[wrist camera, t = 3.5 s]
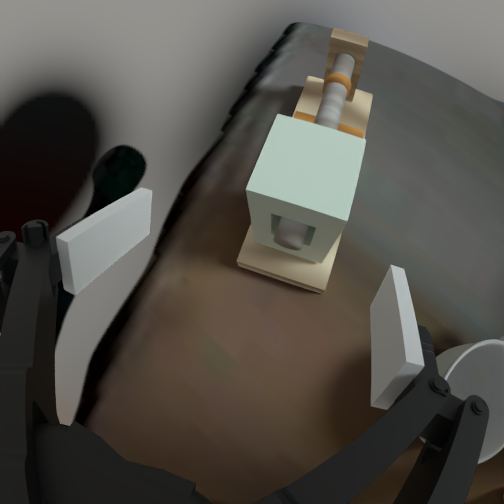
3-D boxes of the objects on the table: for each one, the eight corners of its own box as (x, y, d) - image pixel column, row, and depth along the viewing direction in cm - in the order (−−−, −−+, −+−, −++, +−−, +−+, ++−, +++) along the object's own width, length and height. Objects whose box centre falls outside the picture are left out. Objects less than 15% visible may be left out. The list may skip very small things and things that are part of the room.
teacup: (420, 463, 23) (457, 490, 15) (378, 384, 26) (414, 397, 18) (510, 381, 24) (556, 383, 16) (477, 304, 27) (524, 291, 19)
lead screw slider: (321, 293, 28) (347, 268, 18) (238, 266, 29) (221, 226, 19) (369, 105, 34) (390, 41, 24) (307, 86, 35) (313, 20, 25)
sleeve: (321, 264, 27) (347, 221, 17) (254, 242, 27) (245, 189, 18) (338, 203, 28) (366, 139, 18) (276, 183, 29) (277, 113, 19)
